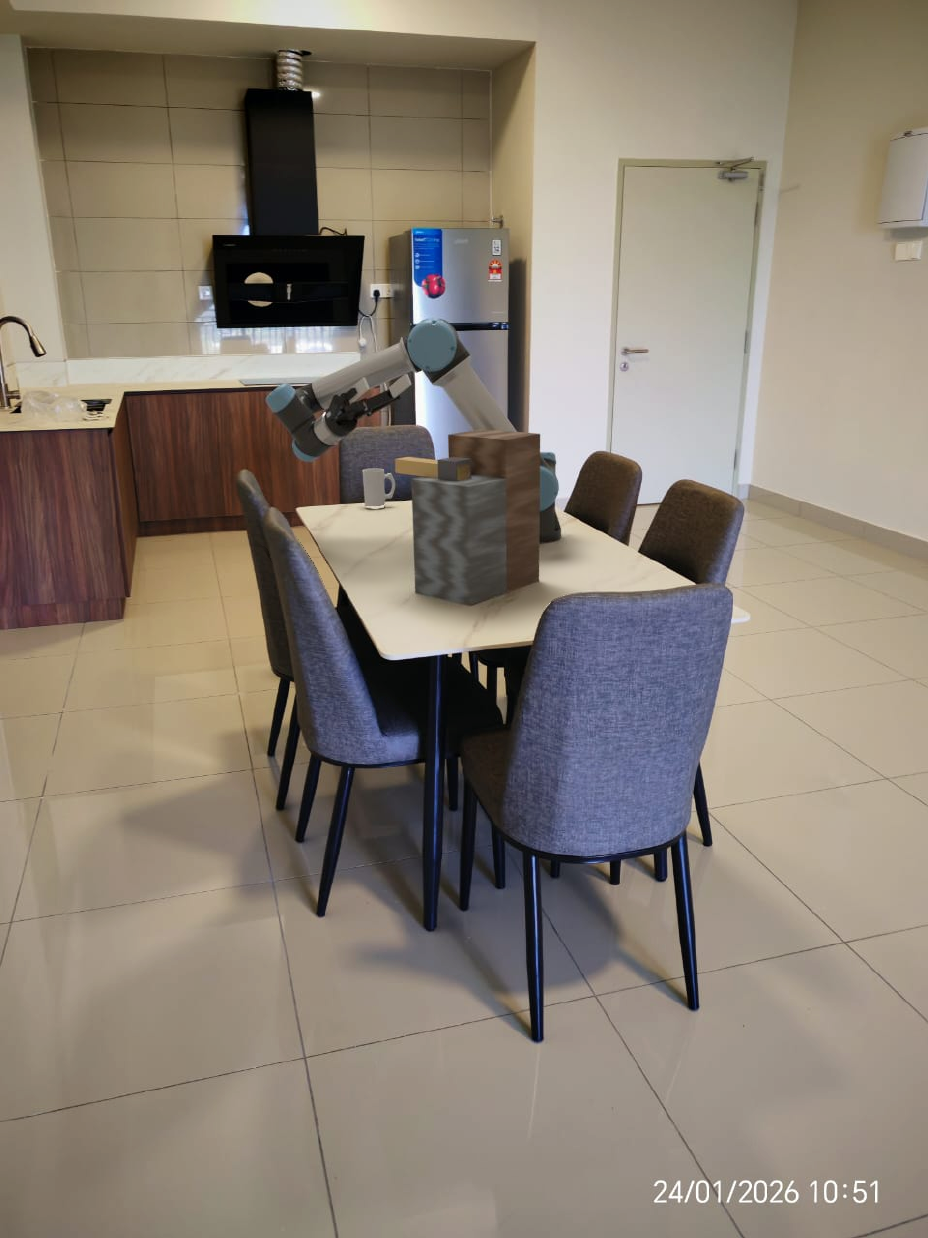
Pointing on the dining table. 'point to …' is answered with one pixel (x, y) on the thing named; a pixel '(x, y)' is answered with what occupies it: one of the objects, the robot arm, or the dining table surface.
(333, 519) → the dining table surface
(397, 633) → the dining table surface
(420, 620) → the dining table surface
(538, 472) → the stand
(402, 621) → the dining table surface
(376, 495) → the mug
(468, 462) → the block
